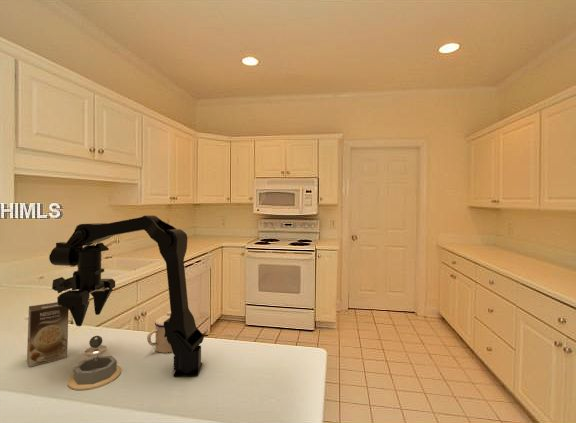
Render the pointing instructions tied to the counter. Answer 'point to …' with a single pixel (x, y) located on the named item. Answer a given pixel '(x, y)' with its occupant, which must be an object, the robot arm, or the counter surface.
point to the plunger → (95, 347)
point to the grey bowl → (94, 373)
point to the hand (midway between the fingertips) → (88, 320)
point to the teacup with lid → (160, 335)
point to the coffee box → (47, 333)
